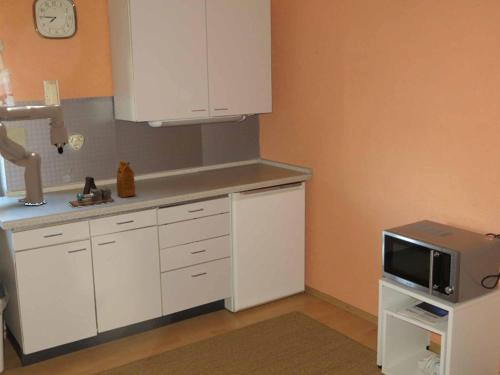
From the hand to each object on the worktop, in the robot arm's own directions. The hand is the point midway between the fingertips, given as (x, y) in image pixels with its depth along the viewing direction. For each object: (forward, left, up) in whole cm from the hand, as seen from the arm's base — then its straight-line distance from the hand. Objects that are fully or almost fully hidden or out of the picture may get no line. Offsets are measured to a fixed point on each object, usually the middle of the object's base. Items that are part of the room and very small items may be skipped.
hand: (60, 153), depth 371 cm
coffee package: (+32, -23, -27) cm, 48 cm away
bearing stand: (+8, -29, -27) cm, 41 cm away
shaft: (+10, -29, -25) cm, 40 cm away
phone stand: (+14, -9, -27) cm, 32 cm away
